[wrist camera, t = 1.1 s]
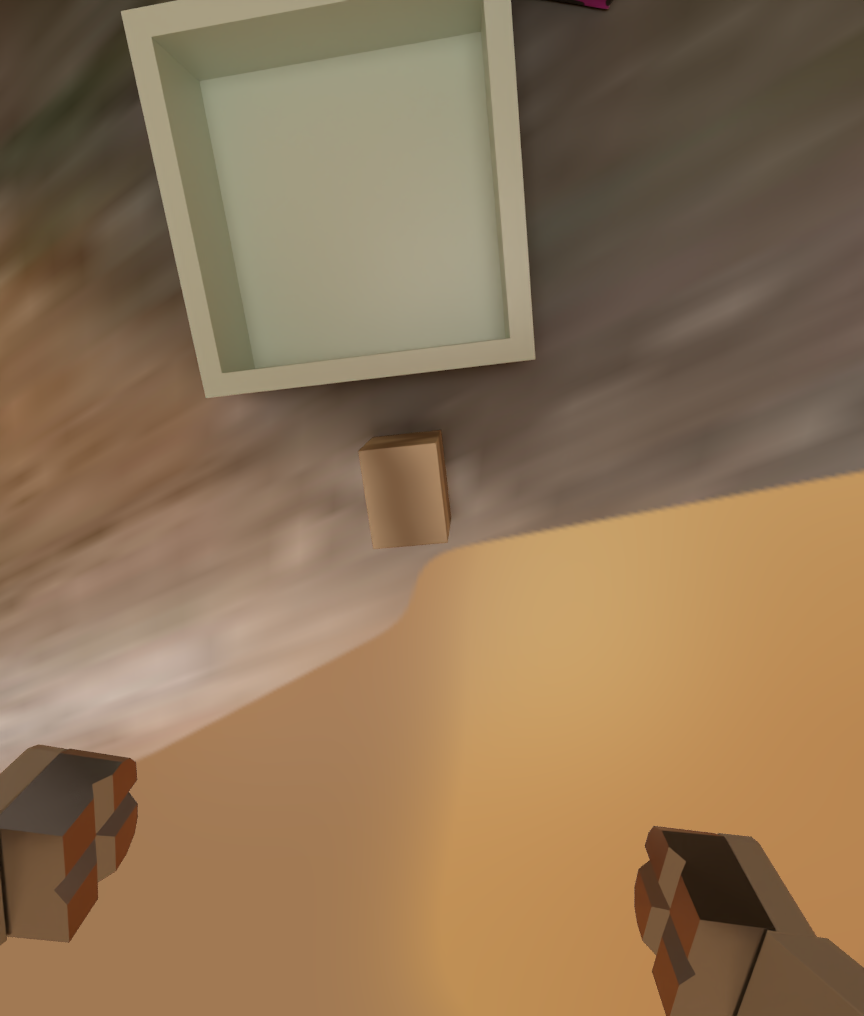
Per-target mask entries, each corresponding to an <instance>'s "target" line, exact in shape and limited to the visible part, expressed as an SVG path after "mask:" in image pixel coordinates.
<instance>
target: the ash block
mask: <svg viewBox="0 0 864 1016" xmlns="http://www.w3.org/2000/svg"><path fill="white" fill-rule="evenodd" d="M358 453H359V459H360V466H361V472H362V479H363V485H364V492H365V498H366V505H367V511H368V518H369V524H370V531H371V537H372V544H373V549H380V548H392V547H403V546H415V545H426V544H438V543H448V536H449V529H450V522H451V513H450V504H449V496H448V487H447V478H446V469H445V461H444V452H443V443H442V434H441V430H436V431H426V432H417V433H408V434H398V435H389V436H380V437H372V438H371V439H370V440H369V441H368V442H367V443H366V444H365V445H364V446H363V447H362V448H361V449H360V450H359V451H358Z"/></svg>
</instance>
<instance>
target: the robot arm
mask: <svg viewBox="0 0 864 1016" xmlns="http://www.w3.org/2000/svg"><path fill="white" fill-rule="evenodd" d="M136 781H137V770H136V762H135V761H134V760H132V759H131V758H126V757H120V756H113V755H107V754H101V753H94V752H88V751H81V750H75V749H64V748H57V747H51V746H45V745H36V746H33V747H30V748H28V749H27V750H25V751H24V752H23V753H22V754H21V755H20V756H19V757H18V758H17V759H16V760H15V761H14V762H13V763H11V764H10V765H9V766H8V767H7V768H6V769H5V770H4V771H3V772H2V773H1V774H0V945H1V944H3V943H4V942H5V941H6V940H7V936H8V937H17V938H28V939H38V940H49V941H58V942H68V943H69V942H70V941H71V939H72V938H73V936H74V935H75V933H76V932H77V930H78V929H79V927H80V925H81V924H82V922H83V921H84V919H85V918H86V916H87V915H88V913H89V912H90V910H91V908H92V907H93V906H94V904H95V903H96V901H97V900H98V882H99V881H101V880H103V879H104V878H106V877H108V876H109V875H111V874H112V873H114V872H115V871H116V870H117V868H118V867H119V865H120V864H121V862H122V861H123V859H124V857H125V856H126V854H127V852H128V849H129V847H130V844H131V842H132V839H133V836H134V834H135V829H136V824H137V818H138V804H137V802H136V801H135V800H134V798H133V797H132V796H131V794H130V793H129V791H130V789H131V788H132V786H133V785H134V784H135V782H136ZM645 848H646V850H647V853H648V856H649V859H650V860H649V861H648V862H647V863H646V864H644V865H643V866H642V867H641V868H639V870H638V874H637V879H636V883H635V899H634V900H635V901H634V902H635V904H634V905H635V906H634V907H635V913H636V919H637V924H638V927H639V931H640V934H641V937H642V940H643V942H644V943H645V944H646V945H647V946H648V947H649V948H650V949H651V950H652V951H653V952H654V954H655V955H656V959H655V962H654V966H653V969H652V973H653V976H654V979H655V982H656V985H657V989H658V992H659V995H660V998H661V1001H662V1004H663V1007H664V1010H665V1013H666V1016H864V968H863V967H862V966H861V965H859V964H858V963H857V962H856V961H855V960H854V959H852V958H851V957H850V956H849V955H847V954H846V953H845V952H844V951H842V950H841V949H840V948H839V947H837V946H836V945H835V944H834V943H833V942H831V941H830V940H829V939H827V938H819V937H817V936H816V935H815V933H814V931H813V930H812V928H811V927H810V925H809V924H808V922H807V920H806V918H805V917H804V915H803V914H802V912H801V910H800V909H799V907H798V906H797V904H796V902H795V901H794V899H793V897H792V896H791V894H790V893H789V891H788V889H787V888H786V886H785V885H784V883H783V881H782V880H781V878H780V876H779V875H778V873H777V871H776V870H775V868H774V867H773V865H772V863H771V862H770V860H769V859H768V857H767V855H766V854H765V852H764V850H763V849H762V847H761V846H760V844H759V843H758V842H757V841H756V840H755V839H753V838H752V837H747V836H739V835H730V834H721V833H719V834H715V833H708V832H699V831H691V830H683V829H674V828H666V827H658V826H653V828H652V829H651V830H650V832H649V833H648V837H647V840H646V844H645Z"/></svg>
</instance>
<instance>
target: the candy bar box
mask: <svg viewBox="0 0 864 1016" xmlns="http://www.w3.org/2000/svg"><path fill="white" fill-rule="evenodd" d="M555 1H561V2H567V3H573V4H579V5H584V6H590V7H596V8H602V9H609V7H610V5H611V3H612V1H613V0H555Z"/></svg>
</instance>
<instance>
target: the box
mask: <svg viewBox="0 0 864 1016" xmlns="http://www.w3.org/2000/svg"><path fill="white" fill-rule="evenodd" d="M121 14H122V19H123V23H124V28H125V32H126V37H127V42H128V46H129V51H130V55H131V60H132V64H133V69H134V73H135V78H136V83H137V87H138V92H139V96H140V101H141V105H142V110H143V114H144V119H145V124H146V128H147V133H148V137H149V142H150V146H151V151H152V155H153V160H154V165H155V169H156V174H157V178H158V183H159V187H160V192H161V196H162V201H163V206H164V210H165V215H166V219H167V224H168V228H169V233H170V237H171V242H172V247H173V251H174V256H175V260H176V265H177V269H178V274H179V278H180V283H181V288H182V292H183V297H184V301H185V306H186V310H187V315H188V319H189V324H190V329H191V333H192V338H193V342H194V347H195V351H196V356H197V360H198V365H199V370H200V374H201V379H202V383H203V388H204V392H205V397H206V398H211V397H220V396H228V395H237V394H245V393H254V392H262V391H271V390H279V389H288V388H296V387H305V386H313V385H322V384H330V383H339V382H347V381H356V380H364V379H373V378H381V377H390V376H398V375H407V374H415V373H424V372H432V371H441V370H449V369H458V368H466V367H475V366H483V365H492V364H500V363H509V362H517V361H526V360H534V359H535V347H534V332H533V318H532V303H531V288H530V274H529V259H528V244H527V230H526V215H525V200H524V186H523V171H522V156H521V142H520V127H519V112H518V98H517V83H516V68H515V54H514V39H513V24H512V10H511V0H177V1H172V2H167V3H162V4H156V5H151V6H146V7H141V8H135V9H130V10H125V11H121Z"/></svg>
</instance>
